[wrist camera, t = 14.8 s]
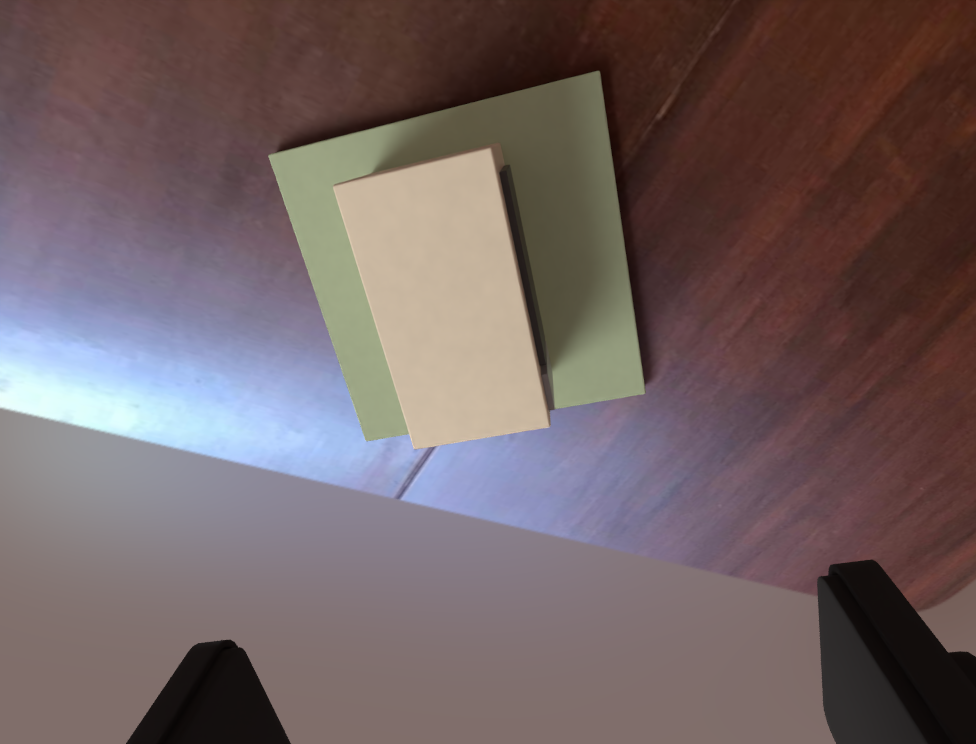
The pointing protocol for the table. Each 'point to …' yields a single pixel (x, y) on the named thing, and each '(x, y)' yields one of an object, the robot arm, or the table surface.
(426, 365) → the toy oven
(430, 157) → the mat
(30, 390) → the table surface
